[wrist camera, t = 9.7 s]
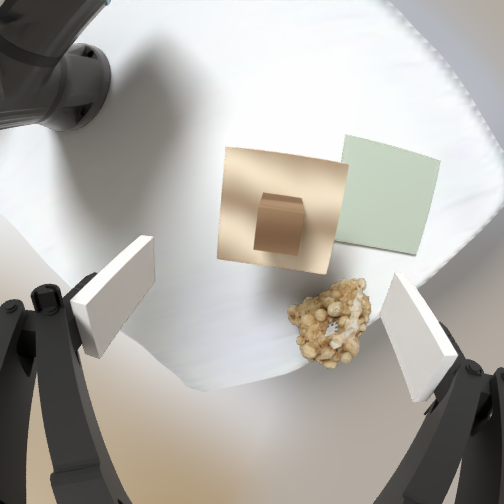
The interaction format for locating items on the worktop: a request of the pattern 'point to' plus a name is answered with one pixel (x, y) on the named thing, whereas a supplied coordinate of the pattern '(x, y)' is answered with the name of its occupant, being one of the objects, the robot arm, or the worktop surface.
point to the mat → (385, 195)
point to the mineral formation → (332, 322)
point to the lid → (279, 209)
